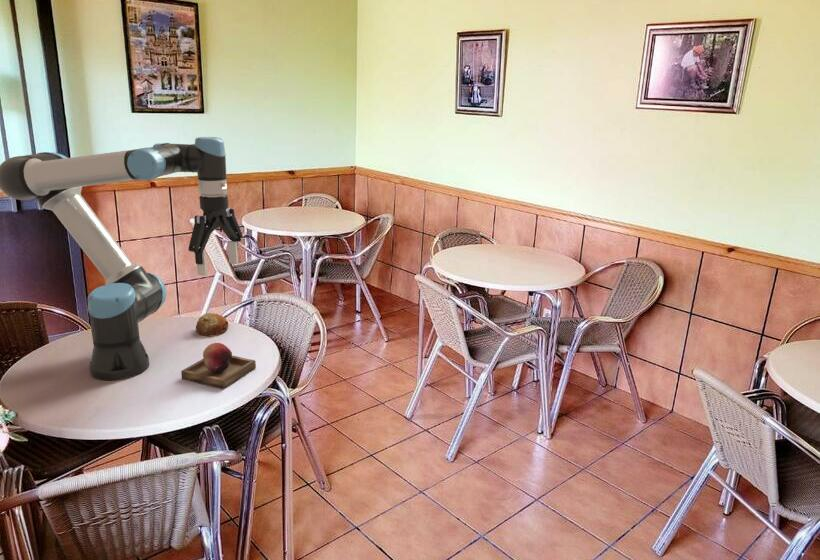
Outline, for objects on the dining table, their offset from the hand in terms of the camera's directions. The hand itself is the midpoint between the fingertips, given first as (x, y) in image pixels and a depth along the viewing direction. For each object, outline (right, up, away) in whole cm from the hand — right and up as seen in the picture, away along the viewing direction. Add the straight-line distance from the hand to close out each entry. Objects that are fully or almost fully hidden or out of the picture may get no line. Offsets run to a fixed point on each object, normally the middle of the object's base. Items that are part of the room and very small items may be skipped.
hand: (218, 268), depth 171 cm
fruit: (+1, -29, -5) cm, 29 cm away
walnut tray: (+2, -29, -4) cm, 30 cm away
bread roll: (-10, -20, +26) cm, 34 cm away
